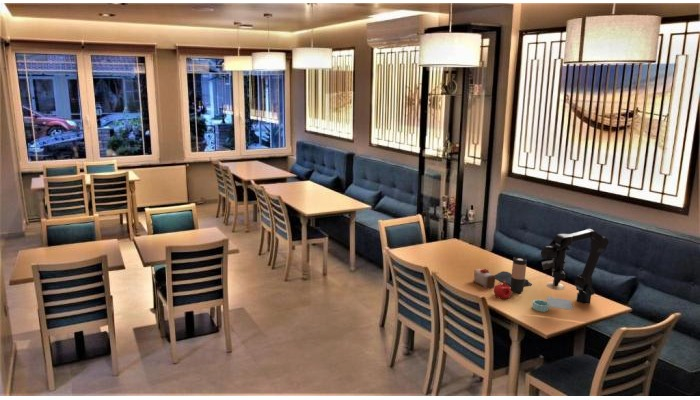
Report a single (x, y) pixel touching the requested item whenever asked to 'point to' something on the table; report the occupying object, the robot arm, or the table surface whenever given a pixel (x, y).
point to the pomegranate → (502, 290)
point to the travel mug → (518, 274)
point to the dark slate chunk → (508, 278)
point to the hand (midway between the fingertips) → (555, 284)
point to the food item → (484, 278)
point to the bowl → (540, 305)
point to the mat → (559, 303)
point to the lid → (552, 286)
